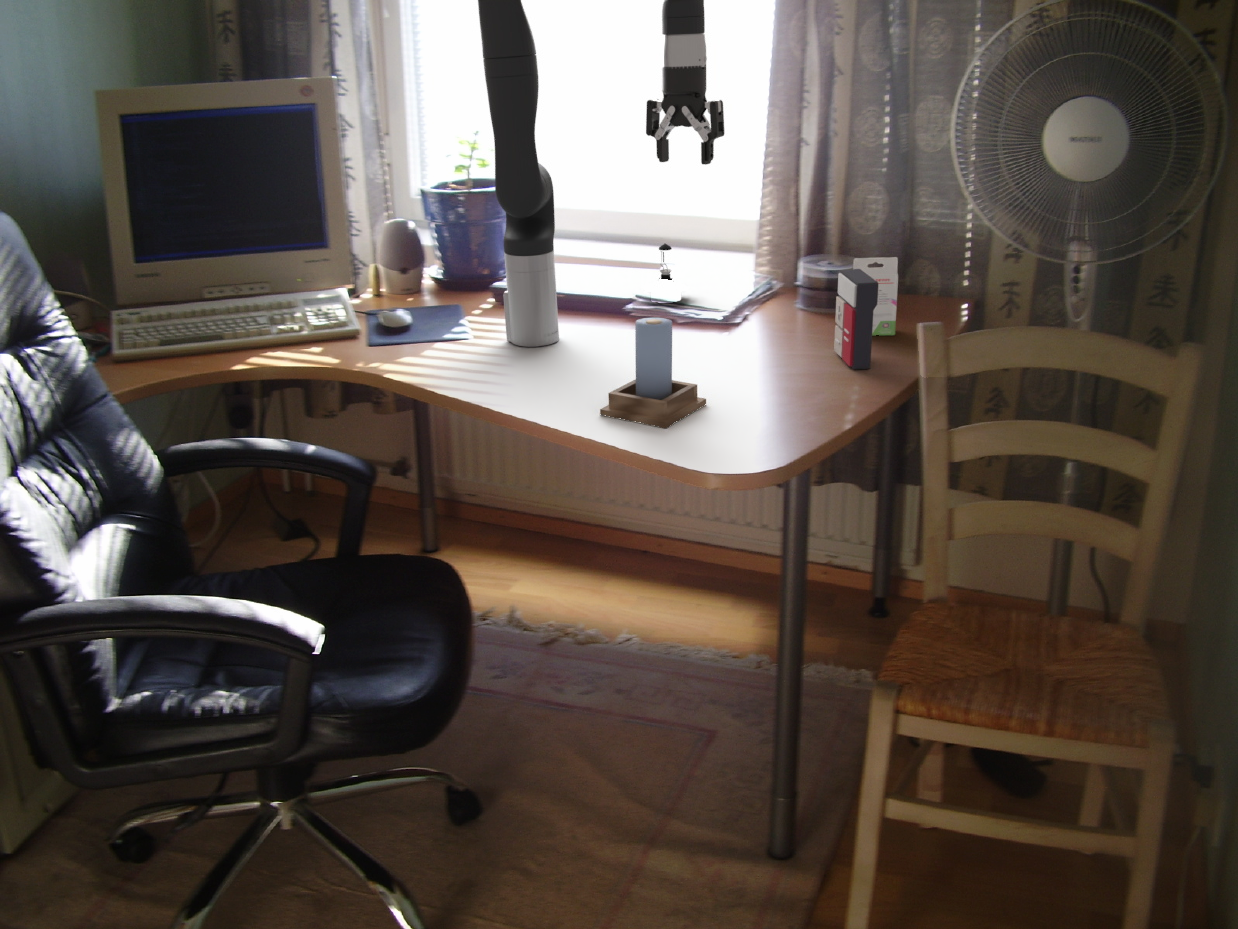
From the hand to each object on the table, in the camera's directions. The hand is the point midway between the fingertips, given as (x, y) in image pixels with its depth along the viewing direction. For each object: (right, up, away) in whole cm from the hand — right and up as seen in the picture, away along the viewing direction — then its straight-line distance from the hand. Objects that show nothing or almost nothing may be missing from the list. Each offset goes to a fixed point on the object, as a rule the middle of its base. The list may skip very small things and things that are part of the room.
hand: (685, 162), depth 187 cm
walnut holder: (-6, -44, -18) cm, 48 cm away
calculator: (+29, -34, +2) cm, 45 cm away
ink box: (+36, -28, +17) cm, 49 cm away
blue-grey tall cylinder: (-6, -43, -19) cm, 47 cm away
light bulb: (-1, -17, +46) cm, 49 cm away
